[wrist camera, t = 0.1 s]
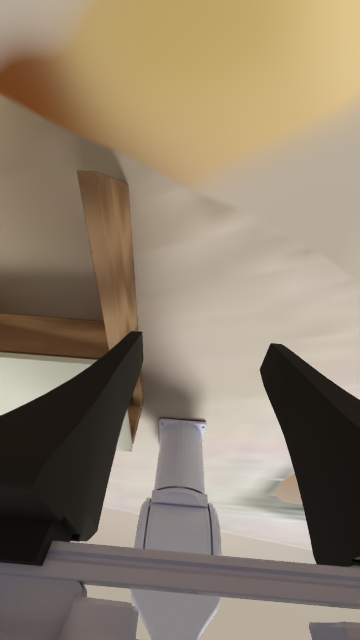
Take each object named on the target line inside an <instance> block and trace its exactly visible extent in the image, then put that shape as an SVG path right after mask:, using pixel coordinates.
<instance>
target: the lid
mask: <svg viewBox="0 0 360 640" xmlns="http://www.w3.org/2000/svg"><path fill="white" fill-rule="evenodd" d="M96 361H97V360H93V359H80V358H67V357H55V356H42V355H29V354H17V353H4V352H0V415H3V414H5V413H7V412H9V411H12V410H14V409H16V408H18V407H20V406H22V405H24V404H26V403H28V402H30V401H32V400H34V399H36V398H38V397H40V396H42V395H44V394H46V393H47V392H49V391H51V390H53V389H54V388H56V387H58V386H60V385H61V384H63V383H65V382H67V381H68V380H70V379H72V378H73V377H75V376H76V375H78V374H79V373H81V372H82V371H84V370H85V369H87V368H88V367H89V366H91V365H92V364H93V363H95V362H96ZM132 447H133V445H132V438H131V431H130V424H129V417H128V410H127V411H126V414H125V417H124V420H123V424H122V428H121V432H120V435H119V439H118V443H117V447H116V450H119V451H131V452H132Z"/></svg>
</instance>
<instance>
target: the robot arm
mask: <svg viewBox="0 0 360 640" xmlns="http://www.w3.org/2000/svg"><path fill="white" fill-rule="evenodd" d="M142 363H143V339H142V332H138V331H131V332H130V333H128V334H127V335H126V336H125V337H124V338H123V339H122V340H121V341H120V342H119V343H117V344H116V345H115V346H114V347H113V348H112V349H111V350H109V351H108V352H107V353H106V354H105V355H104V356H102V357H101V358H100V359H98V360H97V361H96V362H95V363H93V364H92V365H91V366H89V367H88V368H87V369H85V370H84V371H82V372H81V373H79V374H78V375H76V376H75V377H73V378H72V379H70V380H68V381H67V382H65V383H63V384H61V385H60V386H58V387H56V388H54V389H53V390H51V391H49V392H47V393H46V394H44V395H42V396H40V397H38V398H36V399H34V400H32V401H30V402H28V403H26V404H24V405H22V406H20V407H18V408H16V409H14V410H12V411H9V412H7V413H5V414H3V415H0V640H136V629H137V621H138V614H139V616H140V618H141V619H142V621H143V623H144V625H145V627H146V628H147V630H148V632H149V634H150V637H151V640H198V639H199V637H200V635H201V634H202V632H203V631H204V630H205V628H206V627H207V625H208V624H209V622H210V621H211V619H212V618H213V617H214V615H215V614H216V612H217V610H218V608H219V606H220V601H221V597H230V598H240V599H251V600H263V601H274V602H284V603H285V602H286V603H295V604H306V605H318V606H329V607H340V608H351V609H360V400H359V399H357V398H356V397H354V396H353V395H351V394H349V393H348V392H346V391H345V390H343V389H342V388H341V387H339V386H338V385H336V384H335V383H333V382H332V381H331V380H329V379H328V378H326V377H325V376H324V375H322V374H321V373H320V372H318V371H317V370H316V369H314V368H313V367H312V366H310V365H309V364H308V363H306V362H305V361H304V360H302V359H301V358H300V357H299V356H297V355H296V354H295V353H293V352H292V351H291V350H289V349H288V348H287V347H285V346H284V345H282V344H273V343H271V344H270V346H269V349H268V351H267V353H266V356H265V358H264V361H263V363H262V365H261V368H260V373H261V377H262V381H263V384H264V387H265V390H266V392H267V395H268V397H269V400H270V402H271V405H272V407H273V409H274V412H275V414H276V417H277V419H278V421H279V424H280V426H281V429H282V432H283V434H284V437H285V441H286V444H287V447H288V450H289V454H290V457H291V461H292V464H293V468H294V471H295V475H296V479H297V482H298V486H299V491H300V494H301V499H302V502H303V507H304V511H305V516H306V521H307V525H308V530H309V535H310V540H311V545H312V550H313V555H314V558H315V561H316V564H306V563H295V562H284V561H273V560H262V559H251V558H240V557H229V556H221V538H220V527H219V520H218V515H217V512H216V510H215V508H214V507H213V505H212V503H208V499H207V494H205V491H204V471H203V452H202V442H203V438H204V434H205V429H206V422H199V421H187V420H175V419H160V420H159V447H160V448H159V456H158V464H157V471H156V479H155V487H154V490H153V491H152V498H147V499H146V501H145V502H144V503H143V504H142V506H141V510H140V515H139V520H138V526H137V532H136V539H135V546H134V548H128V547H118V546H106V545H95V544H84V543H73V542H70V541H78V542H79V541H88V540H89V539H90V538H91V537H92V536H93V535H94V534H95V533H96V532H97V530H98V524H99V520H100V516H101V511H102V506H103V502H104V497H105V493H106V488H107V484H108V480H109V476H110V472H111V467H112V463H113V459H114V455H115V451H116V447H117V443H118V439H119V435H120V432H121V428H122V424H123V420H124V417H125V414H126V411H127V409H128V406H129V403H130V400H131V398H132V395H133V392H134V389H135V387H136V384H137V381H138V378H139V375H140V371H141V367H142ZM83 584H86V585H97V586H107V587H119V588H130V589H131V593H132V594H131V597H132V602H133V604H134V606H132V604H131V603H128V602H120V601H112V600H104V599H96V598H87V591H86V588H85V586H84V585H83ZM309 629H310V633H311V636H312V639H313V640H360V623H354V622H338V623H312V622H310V624H309Z"/></svg>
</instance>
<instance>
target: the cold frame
mask: <svg viewBox="0 0 360 640" xmlns="http://www.w3.org/2000/svg"><path fill="white" fill-rule="evenodd" d="M77 174H78V179H79V185H80V190H81V196H82V202H83V207H84V213H85V218H86V224H87V229H88V235H89V241H90V246H91V252H92V257H93V263H94V268H95V274H96V280H97V285H98V291H99V296H100V302H101V307H102V313H103V319H104V321H93V320H80V319H68V318H55V317H42V316H29V315H16V314H3V313H0V352H4V353H17V354H29V355H42V356H55V357H67V358H80V359H93V360H98V359H100V358H101V357H102V356H104V355H105V354H106V353H107V352H108V351H109V350H111V349H112V348H113V347H114V346H115V345H116V344H117V343H119V342H120V341H121V340H122V339H123V338H124V337H125V336H126V335H127V334H128V333H130V332H131V331H138V321H137V307H136V292H135V278H134V263H133V248H132V234H131V219H130V205H129V190H128V184H126V183H124V182H121V181H118V180H116V179H113V178H111V177H108V176H105V175H103V174H100V173H97V172H91V171H77ZM142 406H143V394H142V380H141V371H140V375H139V378H138V381H137V384H136V387H135V389H134V392H133V395H132V398H131V400H130V403H129V406H128V409H127V410H128V417H129V424H130V431H131V438H132V444H133V443H134V439H135V435H136V431H137V427H138V423H139V418H140V414H141V410H142Z"/></svg>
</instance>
